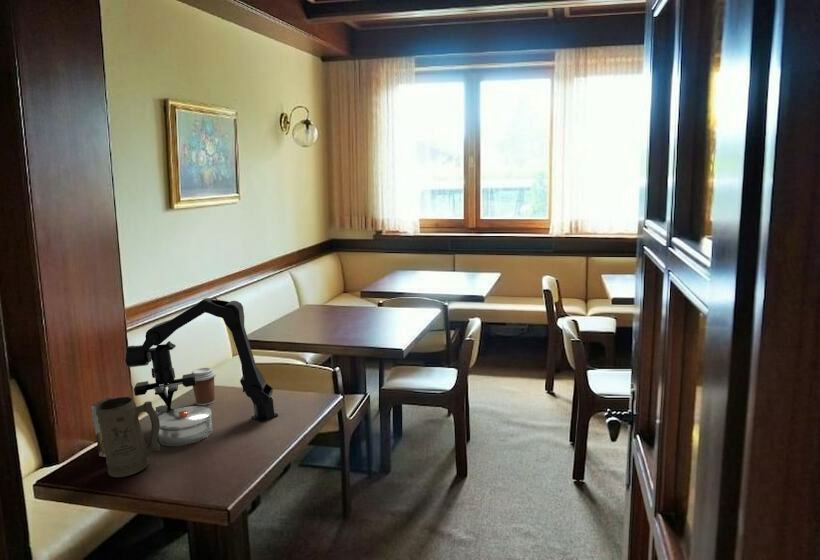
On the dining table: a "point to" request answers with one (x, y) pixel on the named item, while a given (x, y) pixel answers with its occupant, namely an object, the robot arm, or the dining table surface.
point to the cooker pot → (185, 434)
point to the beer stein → (126, 435)
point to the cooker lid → (182, 417)
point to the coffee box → (98, 428)
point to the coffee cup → (204, 386)
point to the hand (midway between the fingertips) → (169, 409)
